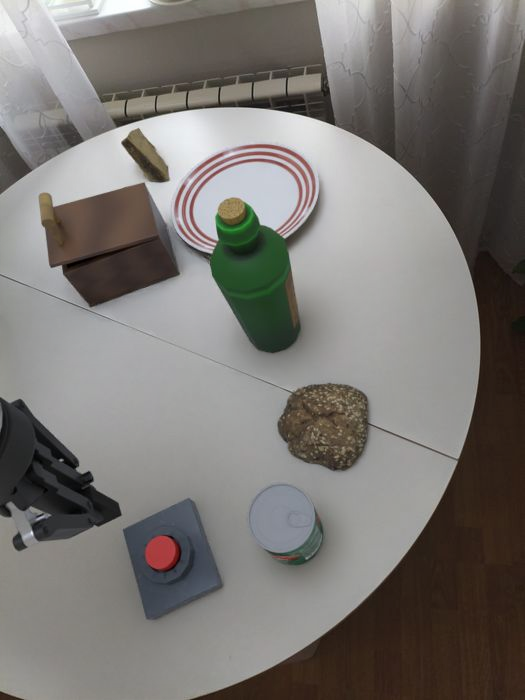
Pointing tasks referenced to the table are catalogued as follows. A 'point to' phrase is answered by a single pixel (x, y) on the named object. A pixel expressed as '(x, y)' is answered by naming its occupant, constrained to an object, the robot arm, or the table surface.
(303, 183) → the dinner plate
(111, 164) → the table surface
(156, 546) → the button
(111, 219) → the lid
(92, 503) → the robot arm
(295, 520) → the canned tomato
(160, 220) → the chest
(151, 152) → the rock
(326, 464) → the bread roll
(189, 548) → the button block
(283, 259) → the bottle
